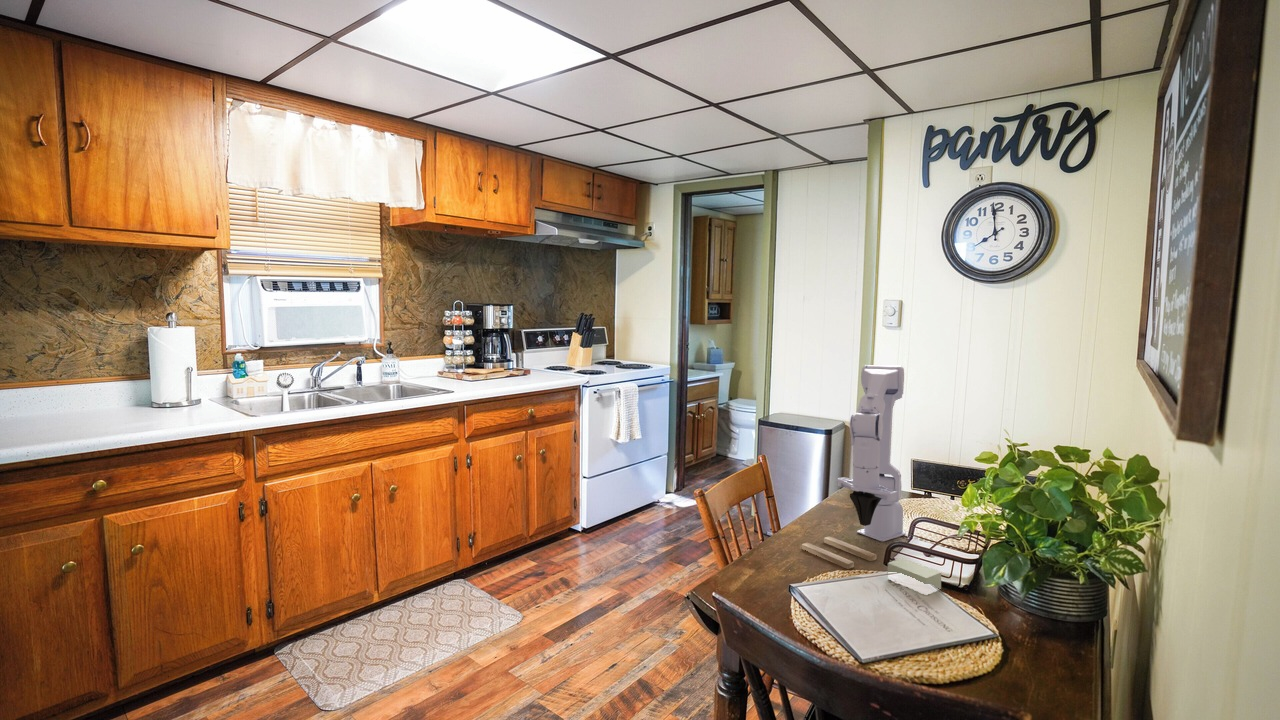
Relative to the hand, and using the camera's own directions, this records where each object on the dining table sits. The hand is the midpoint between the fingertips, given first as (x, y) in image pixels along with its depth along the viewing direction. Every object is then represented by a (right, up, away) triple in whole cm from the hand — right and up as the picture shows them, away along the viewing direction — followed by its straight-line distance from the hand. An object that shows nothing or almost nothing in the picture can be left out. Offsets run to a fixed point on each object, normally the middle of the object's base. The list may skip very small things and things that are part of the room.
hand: (865, 524), depth 136 cm
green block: (+6, -10, -10) cm, 16 cm away
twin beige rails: (-4, -9, +7) cm, 12 cm away
